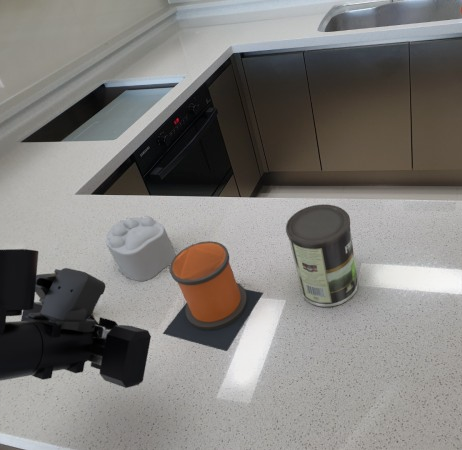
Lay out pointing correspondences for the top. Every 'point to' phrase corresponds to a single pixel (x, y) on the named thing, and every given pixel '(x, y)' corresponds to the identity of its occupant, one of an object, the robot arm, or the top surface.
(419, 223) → the top surface
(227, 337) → the mat
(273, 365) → the top surface
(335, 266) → the coffee can
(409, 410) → the top surface
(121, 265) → the lumpy-topped squat cylinder
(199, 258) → the spool
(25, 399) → the top surface
